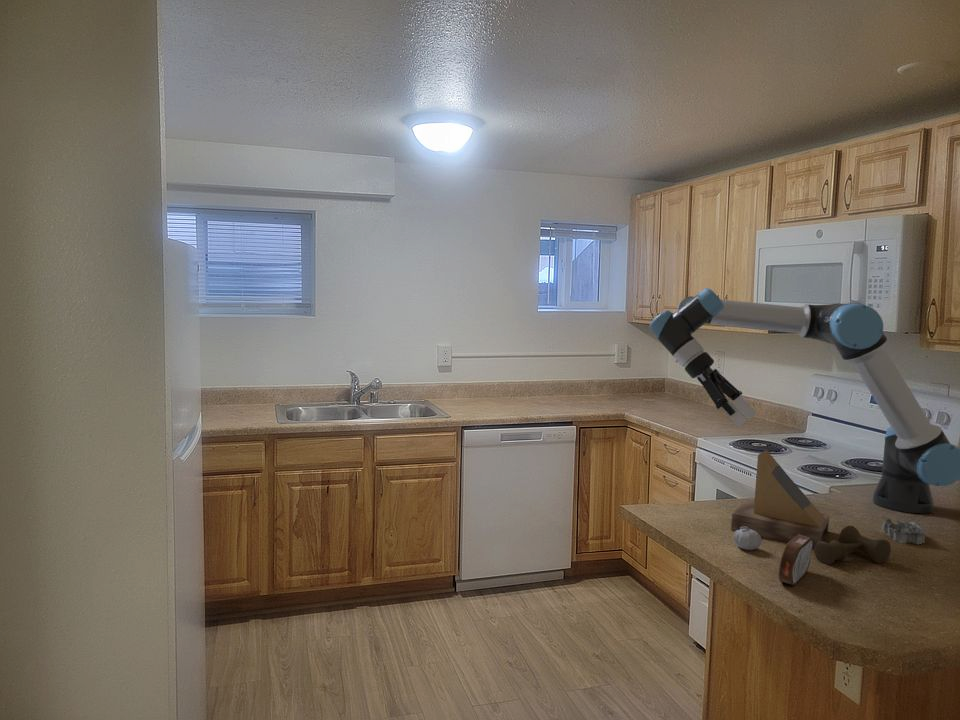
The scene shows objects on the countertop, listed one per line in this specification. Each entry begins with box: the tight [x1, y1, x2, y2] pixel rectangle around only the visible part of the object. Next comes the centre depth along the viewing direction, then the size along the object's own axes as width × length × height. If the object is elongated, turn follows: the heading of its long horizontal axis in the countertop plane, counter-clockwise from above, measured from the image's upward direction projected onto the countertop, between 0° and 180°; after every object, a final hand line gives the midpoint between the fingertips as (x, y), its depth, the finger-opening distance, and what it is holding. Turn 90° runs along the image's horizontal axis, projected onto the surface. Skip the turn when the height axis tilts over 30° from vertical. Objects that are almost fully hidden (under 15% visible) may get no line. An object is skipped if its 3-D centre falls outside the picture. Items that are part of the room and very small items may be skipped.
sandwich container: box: [753, 449, 825, 527], centre depth 169 cm, size 9×15×15 cm, turn 55°
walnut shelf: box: [730, 499, 830, 549], centre depth 171 cm, size 20×16×4 cm
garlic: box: [733, 526, 762, 551], centre depth 158 cm, size 6×5×5 cm
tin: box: [778, 534, 813, 586], centre depth 141 cm, size 15×3×8 cm, turn 140°
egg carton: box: [881, 514, 927, 545], centre depth 171 cm, size 11×8×4 cm
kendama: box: [813, 525, 892, 566], centre depth 154 cm, size 6×10×20 cm
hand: (748, 420), depth 182 cm, fingers open, 13 cm apart
